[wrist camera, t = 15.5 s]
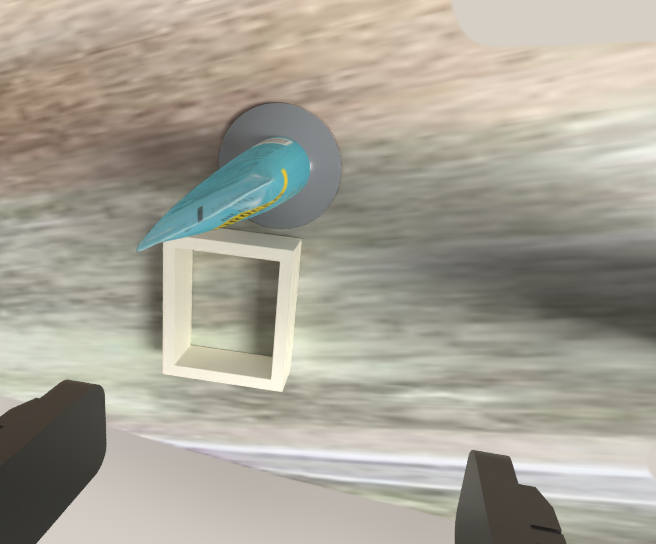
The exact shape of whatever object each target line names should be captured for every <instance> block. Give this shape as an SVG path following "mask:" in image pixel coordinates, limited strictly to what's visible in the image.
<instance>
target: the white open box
mask: <svg viewBox="0 0 656 544" xmlns="http://www.w3.org/2000/svg"><path fill="white" fill-rule="evenodd" d="M301 244H302V239H301V238H294V237H286V236H278V235H270V234H262V233H254V232H247V231H239V230H231V229H223V228H219V229H216V230H212V231H209V232H205V233H201V234H197V235H193V236H188V237H184V238H180V239H175V240H170V241H166V242H163V374H167V375H174V376H180V377H187V378H194V379H200V380H207V381H213V382H220V383H227V384H233V385H240V386H246V387H253V388H260V389H266V390H273V391H280V392H282V390H283V388H284V385H285V383H286V380H287V377H288V375H289V372H290V369H291V358H292V347H293V335H294V324H295V313H296V301H297V290H298V279H299V267H300V256H301ZM193 250H196V251H204V252H211V253H219V254H227V255H234V256H242V257H249V258H257V259H265V260H272V261H280V270H279V283H278V296H277V309H276V323H275V336H274V349H273V357H269V356H262V355H255V354H249V353H242V352H235V351H228V350H221V349H214V348H207V347H201V346H194V345H191V318H192V270H193Z"/></svg>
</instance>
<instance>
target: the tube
mask: <svg viewBox="0 0 656 544" xmlns="http://www.w3.org/2000/svg"><path fill="white" fill-rule="evenodd" d="M309 175H310V162H309V158H308V156H307V154H306V152H305V150H304V149H303V148H302V147H301V146H300V145H299V144H298V143H297V142H295V141H294V140H292V139H289V138H286V137H272V138H269V139H266V140H264V141H262V142H260V143H259V144H257V145H255V146H253V147H252V148H250V149H248V150H247V151H245V152H243V153H242V154H240V155H239V156H237V157H236V158H234V159H233V160H231V161H230V162H229V163H227V164H226V165H224V166H223V167H222V168H220V169H219V170H217V171H216V172H215V173H213V174H212V175H211V176H209V177H208V178H207V179H206V180H204V181H203V182H202V183H200V184H199V185H198V186H197V187H196V188H194V189H193V190H192V191H191V192H189V193H188V194H187V195H186V196H185V197H184V198H183V199H181V200H180V201H179V202H178V203H177V204H176V205H175V206H174V207H172V208H171V209H170V210H169V211H168V212H167V213H166V214H165V215H164V216H163V217H162V218H161V219H160V220H159V221H158V222H157V224H156V225H155V226H154V227H153V228H152V229H151V230H150V232H149V233H148V234H147V235H146V237H145V238H144V239H143V240H142V241H141V242H140V243H139V245H138V247H137V250H136V251H137V252H140V251H143V250H145V249H147V248H149V247H151V246H154V245H156V244H159V243H161V242H166V241H170V240H175V239H180V238H184V237H188V236H193V235H197V234H201V233H205V232H209V231H212V230H216V229H219V228H222V227H226V226H229V225H232V224H234V223H237V222H240V221H243V220H246V219H249V218H251V217H254V216H256V215H259V214H261V213H264V212H266V211H269V210H271V209H273V208H275V207H277V206H279V205H280V204H282V203H284V202H286V201H287V200H289V199H290V198H292V197H293V196H295V195H296V194H297V193H299V192H300V191H301V190H302V189H303V188H304V186H305V185H306V183H307V181H308V178H309Z"/></svg>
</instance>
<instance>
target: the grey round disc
mask: <svg viewBox="0 0 656 544" xmlns="http://www.w3.org/2000/svg"><path fill="white" fill-rule="evenodd" d="M272 137H286V138H289V139H292V140H294V141H295V142H297V143H298V144H299V145H300V146H301V147H302V148H303V149H304V150H305V152H306V154H307V156H308V158H309V162H310V175H309V178H308V181H307V183H306V185H305V186H304V188H303V189H302V190H301V191H300V192H299V193H297V194H296V195H295V196H293V197H292V198H290V199H289V200H287V201H286V202H284V203H282V204H280V205H279V206H277V207H275V208H273V209H271V210H269V211H266V212H264V213H261V214H259V215H256V216H254V217H251V218H249V220H251V221H252V222H254V223H257V224H259V225H261V226H264V227H268V228H273V229H291V228H296V227H300V226H302V225H305V224H307V223H309V222H311V221H313V220H314V219H316V218H317V217H319V216H320V215H321V214H322V213H323V212H324V211H325V210H326V209H327V207H328V206H329V205H330V203H331V202H332V200H333V199H334V197H335V195H336V193H337V190H338V187H339V184H340V180H341V174H342V162H341V155H340V150H339V147H338V144H337V142H336V140H335V138H334V136H333V134H332V132H331V131H330V129H329V128H328V127H327V126H326V124H325V123H324V122H323V121H322V120H321V119H320V118H318V117H317V116H316V115H315V114H313V113H312V112H310V111H308V110H306V109H304V108H302V107H299V106H296V105H293V104H287V103H269V104H264V105H260V106H257V107H254V108H252V109H250V110H248V111H247V112H245V113H243V114H242V115H241V116H240V117H238V118H237V119H236V120H235V121H234V123H233V124H232V125H231V126H230V128H229V129H228V130H227V132H226V134H225V136H224V138H223V141H222V144H221V147H220V151H219V159H218V169H220V168H222V167H223V166H224V165H226V164H227V163H229V162H230V161H231V160H233V159H234V158H236V157H237V156H239V155H240V154H242V153H243V152H245V151H247V150H248V149H250V148H252V147H253V146H255V145H257V144H259V143H260V142H262V141H264V140H266V139H269V138H272Z"/></svg>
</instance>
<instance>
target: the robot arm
mask: <svg viewBox="0 0 656 544" xmlns="http://www.w3.org/2000/svg"><path fill="white" fill-rule="evenodd" d="M105 452H106V417H105V393H104V390H103V388H102V386H100V385H96V384H90V383H85V382H79V381H73V380H64V381H62V382H61V383H59V384H58V385H57V386H55V387H54V388H53V389H51V390H50V391H49V392H48V393H46V394H45V395H44V396H42V397H41V398H35V399H33V400H30V401H28V402H26V403H23V404H21V405H19V406H17V407H14V408H12V409H10V410H9V411H7V412H6V413H5V414H3V415H2V416H1V417H0V544H36V543H37V542H38V541H39V540H40V538H42V536H43V535H44V534H45V533H46V532H47V530H48V529H49V528H50V527H51V526H52V525H53V523H54V522H55V521H56V520H57V519H58V518H59V517H60V515H61V514H62V513H63V512H64V511H65V510H66V508H67V507H68V506H69V505H70V504H71V503H72V501H73V500H74V499H75V498H76V497H77V496H78V495H79V493H80V492H81V491H82V490H83V489H84V488H85V487H86V485H87V484H88V483H89V482H90V481H91V479H92V478H93V477H94V476H95V475H96V474H97V472H98V470H99V469H100V467H101V465H102V462H103V459H104V456H105ZM455 544H566V541H565V538H564V536H563V535H561V528H560V525H559V522H558V520H557V517H556V514H555V511H554V509H553V507H552V506H551V505H550V504H549V502H548V501H547V500H546V499H545V498H544V497H543V495H542V494H541V493H540V492H539V491H538V490H537V488H536V487H532V486H526V485H521V484H518V481H517V478H516V474H515V471H514V468H513V464H512V461H511V459H510V457H509V456H505V455H499V454H493V453H487V452H482V451H476V450H471V452H470V454H469V457H468V461H467V466H466V470H465V475H464V480H463V484H462V489H461V494H460V498H459V503H458V508H457V513H456V521H455Z"/></svg>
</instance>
